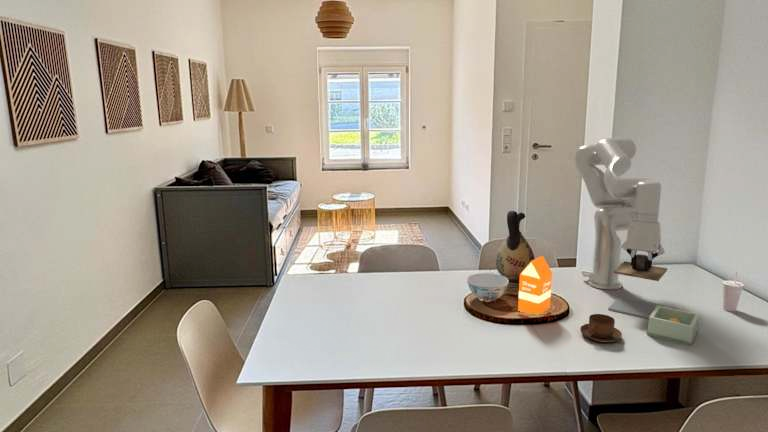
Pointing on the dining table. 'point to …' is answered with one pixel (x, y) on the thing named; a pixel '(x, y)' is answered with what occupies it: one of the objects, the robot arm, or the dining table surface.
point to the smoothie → (731, 294)
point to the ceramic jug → (514, 251)
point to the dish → (673, 325)
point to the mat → (634, 306)
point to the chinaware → (487, 285)
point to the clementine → (674, 320)
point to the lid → (641, 269)
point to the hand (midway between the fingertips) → (640, 268)
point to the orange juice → (535, 287)
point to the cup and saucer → (601, 329)
